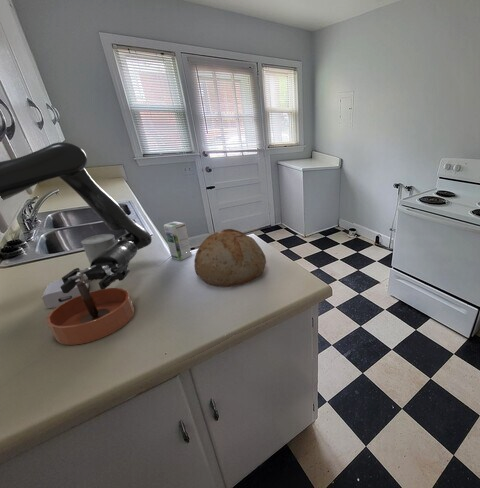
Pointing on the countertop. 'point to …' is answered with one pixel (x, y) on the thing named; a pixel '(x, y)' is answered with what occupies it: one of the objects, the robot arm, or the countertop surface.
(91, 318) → the paper towel holder
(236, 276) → the bread
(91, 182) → the robot arm
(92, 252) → the white cylinder
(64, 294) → the white drawer box
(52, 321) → the bowl
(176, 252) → the syrup box
